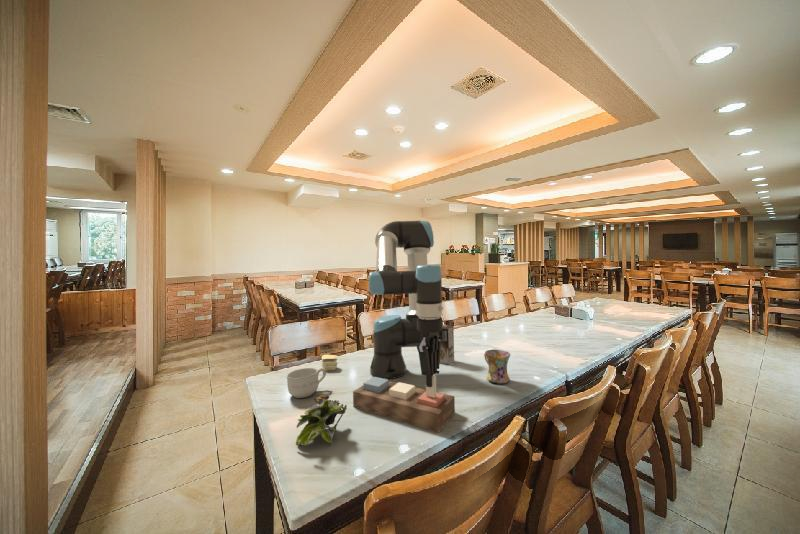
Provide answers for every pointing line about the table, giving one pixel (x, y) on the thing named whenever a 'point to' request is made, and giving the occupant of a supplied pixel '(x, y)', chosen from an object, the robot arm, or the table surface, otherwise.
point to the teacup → (304, 381)
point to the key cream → (402, 391)
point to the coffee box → (447, 344)
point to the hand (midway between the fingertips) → (431, 395)
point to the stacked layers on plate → (329, 362)
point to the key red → (431, 400)
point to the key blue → (376, 384)
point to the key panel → (405, 407)
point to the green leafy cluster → (320, 420)
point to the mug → (497, 365)
